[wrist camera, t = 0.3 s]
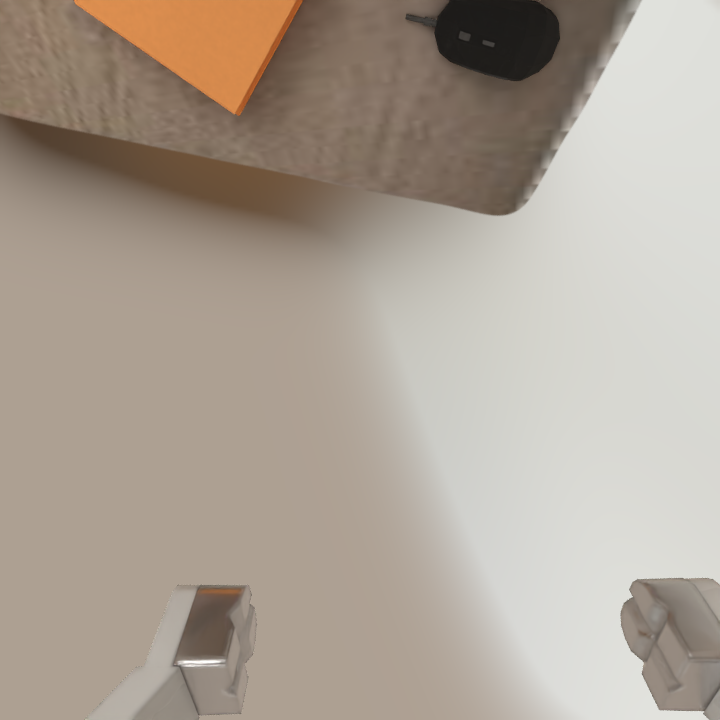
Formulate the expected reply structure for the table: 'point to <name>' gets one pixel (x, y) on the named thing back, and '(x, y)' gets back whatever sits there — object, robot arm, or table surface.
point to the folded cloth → (204, 39)
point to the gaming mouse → (496, 36)
